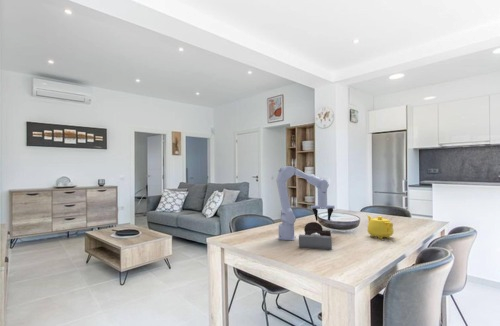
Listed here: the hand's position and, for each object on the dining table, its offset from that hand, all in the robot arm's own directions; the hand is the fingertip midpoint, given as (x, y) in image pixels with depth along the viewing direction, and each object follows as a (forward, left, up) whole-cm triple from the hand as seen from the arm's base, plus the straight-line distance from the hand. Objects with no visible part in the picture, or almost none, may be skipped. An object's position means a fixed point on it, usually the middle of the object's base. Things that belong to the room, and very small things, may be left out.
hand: (322, 220), depth 173 cm
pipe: (-3, -12, -10) cm, 16 cm away
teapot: (+33, +5, -10) cm, 35 cm away
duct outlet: (-3, -28, -10) cm, 29 cm away
